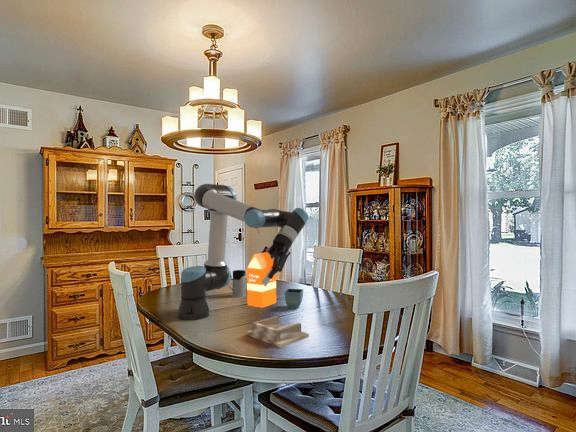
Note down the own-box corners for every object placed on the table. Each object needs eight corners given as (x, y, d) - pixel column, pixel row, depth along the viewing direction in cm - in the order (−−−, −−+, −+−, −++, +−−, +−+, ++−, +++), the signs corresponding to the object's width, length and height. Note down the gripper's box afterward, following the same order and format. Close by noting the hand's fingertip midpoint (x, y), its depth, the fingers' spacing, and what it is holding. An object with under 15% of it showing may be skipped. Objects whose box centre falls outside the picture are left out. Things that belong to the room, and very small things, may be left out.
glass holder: (241, 297, 206) (241, 272, 206) (221, 295, 212) (221, 271, 212) (248, 294, 215) (248, 270, 215) (228, 292, 220) (228, 269, 220)
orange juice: (247, 305, 136) (246, 253, 136) (261, 300, 143) (260, 251, 143) (262, 307, 131) (261, 254, 131) (276, 302, 139) (275, 252, 138)
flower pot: (300, 310, 180) (300, 292, 180) (284, 309, 182) (284, 292, 182) (303, 305, 188) (303, 289, 188) (287, 304, 190) (287, 288, 190)
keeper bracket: (246, 334, 143) (246, 322, 143) (274, 325, 155) (274, 314, 155) (280, 347, 129) (280, 333, 129) (308, 336, 141) (308, 323, 140)
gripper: (308, 246, 140) (279, 292, 129) (272, 243, 155) (244, 284, 145) (298, 233, 136) (268, 280, 125) (263, 232, 152) (233, 273, 141)
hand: (255, 282), depth 135 cm, fingers closed on orange juice, 9 cm apart
